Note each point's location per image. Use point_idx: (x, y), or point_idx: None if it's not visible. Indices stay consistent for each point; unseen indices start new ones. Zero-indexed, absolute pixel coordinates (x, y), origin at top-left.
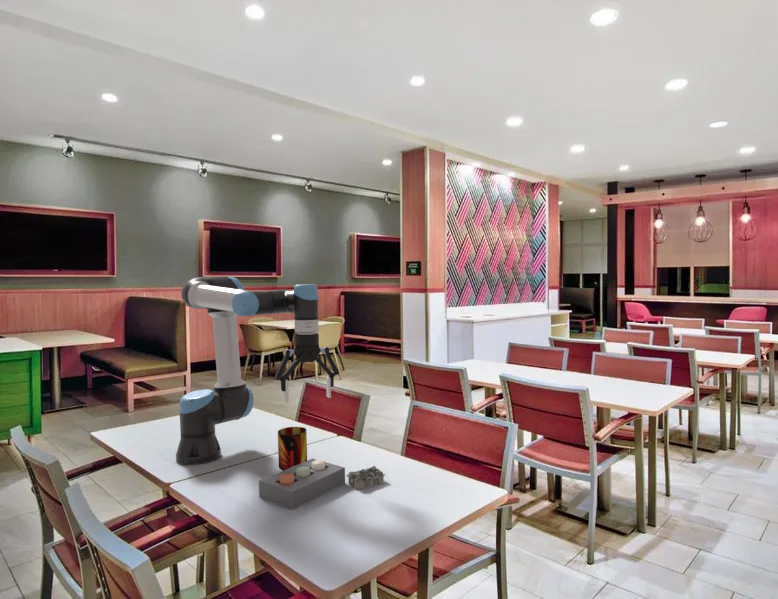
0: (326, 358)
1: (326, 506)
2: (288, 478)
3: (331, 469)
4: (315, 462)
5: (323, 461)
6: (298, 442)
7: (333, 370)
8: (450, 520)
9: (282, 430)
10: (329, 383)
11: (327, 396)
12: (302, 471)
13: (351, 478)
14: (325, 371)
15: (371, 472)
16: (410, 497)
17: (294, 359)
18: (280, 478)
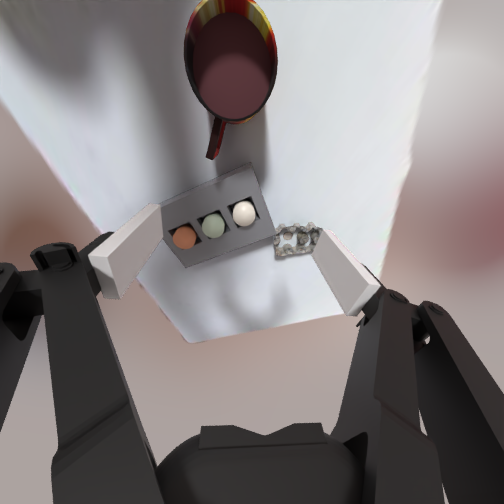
0: (496, 436)
1: (226, 264)
2: (184, 248)
3: (256, 231)
4: (240, 213)
5: (253, 216)
6: (236, 122)
7: (427, 323)
8: (299, 320)
9: (208, 4)
10: (337, 294)
11: (318, 242)
12: (209, 236)
13: (277, 239)
14: (372, 324)
15: (307, 239)
16: (305, 284)
17: (57, 488)
18: (173, 241)
